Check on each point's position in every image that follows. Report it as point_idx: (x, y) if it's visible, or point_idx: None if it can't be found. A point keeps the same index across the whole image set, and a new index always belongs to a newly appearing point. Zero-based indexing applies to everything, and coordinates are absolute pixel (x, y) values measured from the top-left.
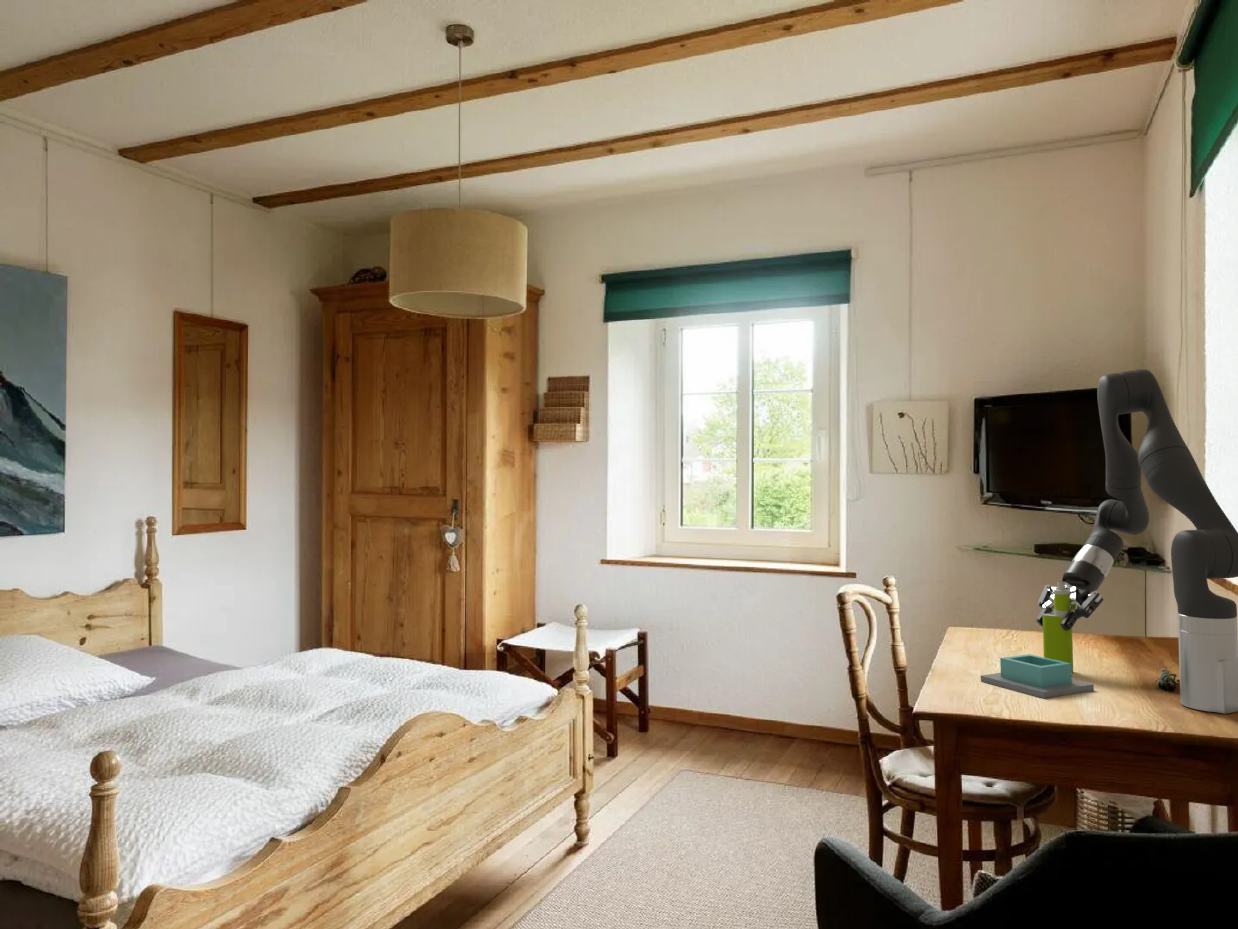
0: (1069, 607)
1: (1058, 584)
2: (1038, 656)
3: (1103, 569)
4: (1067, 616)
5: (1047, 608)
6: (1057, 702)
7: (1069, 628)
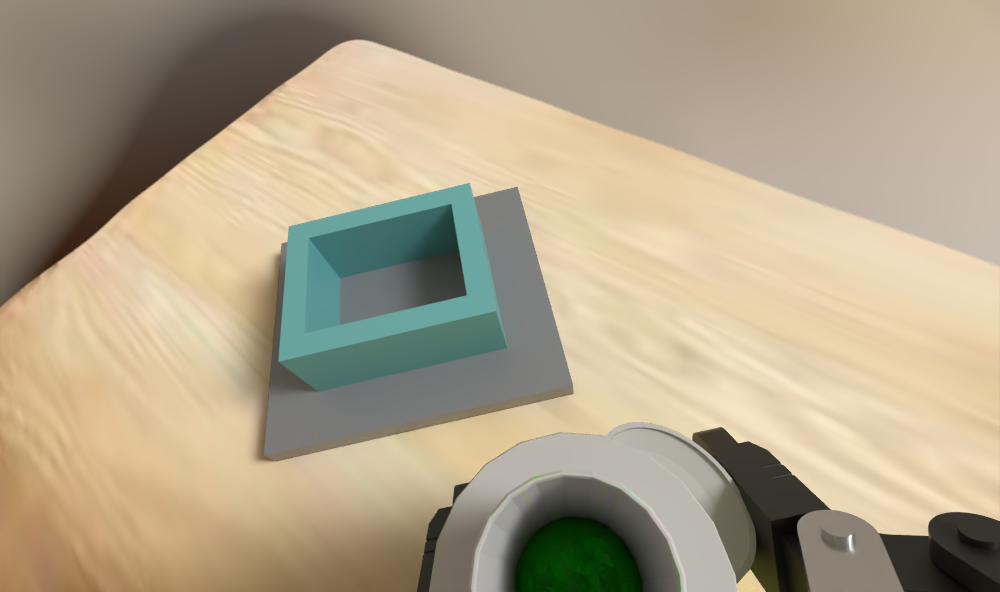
0: None
1: (567, 482)
2: (440, 318)
3: None
4: None
5: (794, 548)
6: (246, 265)
7: None
